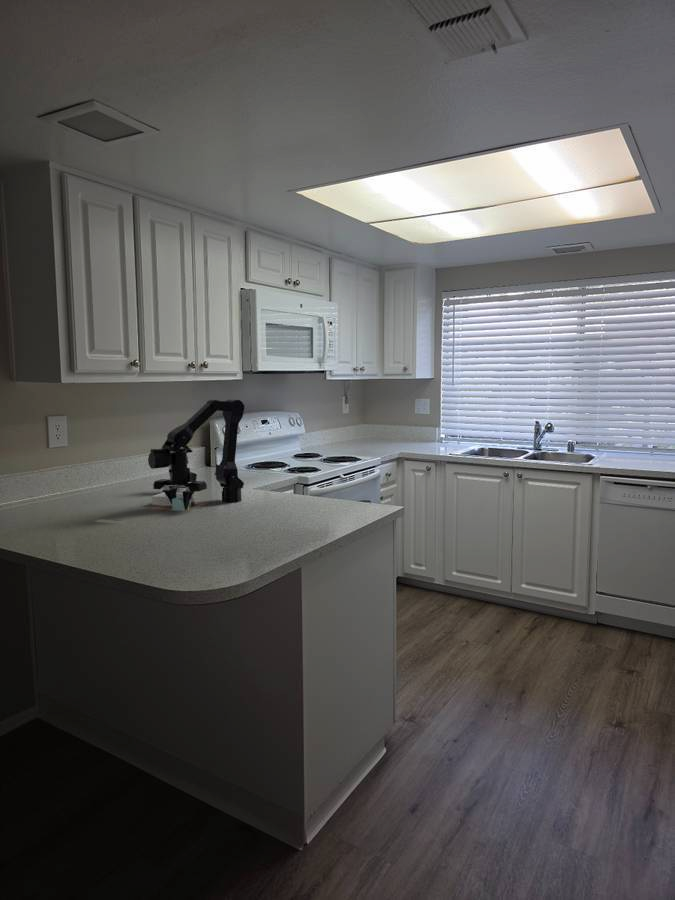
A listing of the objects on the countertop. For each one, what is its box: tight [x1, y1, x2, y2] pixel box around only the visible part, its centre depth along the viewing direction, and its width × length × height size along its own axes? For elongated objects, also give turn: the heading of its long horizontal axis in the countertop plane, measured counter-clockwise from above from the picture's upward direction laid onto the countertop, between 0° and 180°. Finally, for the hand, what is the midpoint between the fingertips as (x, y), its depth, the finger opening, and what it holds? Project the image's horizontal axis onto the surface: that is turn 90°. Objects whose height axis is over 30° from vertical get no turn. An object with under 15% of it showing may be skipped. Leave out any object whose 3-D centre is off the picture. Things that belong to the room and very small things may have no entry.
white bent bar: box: [151, 492, 183, 506], centre depth 231 cm, size 11×8×3 cm
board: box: [143, 501, 208, 513], centre depth 228 cm, size 18×14×1 cm
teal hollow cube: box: [172, 497, 189, 512], centre depth 222 cm, size 4×4×4 cm
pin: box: [190, 495, 196, 506], centre depth 229 cm, size 1×1×4 cm
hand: (180, 508), depth 222 cm, fingers closed on teal hollow cube, 4 cm apart
